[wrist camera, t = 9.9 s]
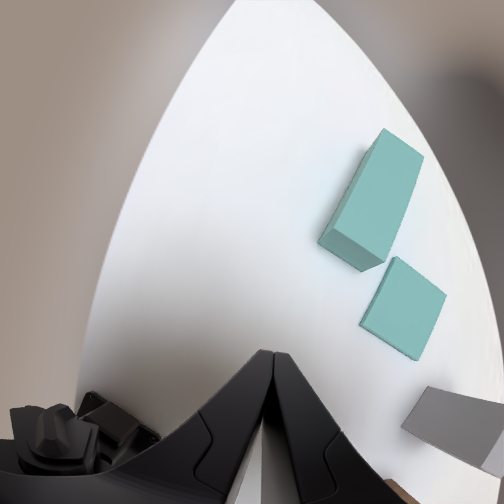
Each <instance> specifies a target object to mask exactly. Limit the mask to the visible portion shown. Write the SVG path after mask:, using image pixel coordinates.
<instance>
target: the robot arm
mask: <svg viewBox="0 0 504 504" xmlns="http://www.w3.org/2000/svg"><path fill="white" fill-rule="evenodd" d="M90 395H91V396H92V397H93V400H92V399H91V398H90ZM10 416H11V422H12V429H13V434H14V440H7V439H0V504H234V503H235V500H236V497H237V495H238V492H239V489H240V486H241V483H242V481H243V478H244V475H245V472H246V469H247V466H248V463H249V460H250V457H251V454H252V451H253V448H254V445H255V442H256V439H257V436H258V433H259V429H260V426H261V422H262V466H261V504H408V503H407V502H406V501H405V500H403V499H402V498H401V497H400V496H399V495H398V494H397V493H396V492H395V491H394V490H393V489H392V488H391V487H390V486H389V485H388V484H387V483H386V482H385V481H384V480H383V479H382V478H381V477H380V476H379V475H378V474H377V473H376V472H375V471H374V470H373V469H372V468H371V466H370V465H369V464H368V463H367V462H366V461H365V460H364V459H363V458H362V456H361V455H360V454H359V453H358V452H357V450H356V449H355V448H354V446H353V445H352V444H351V442H350V441H349V440H348V438H347V437H346V436H345V434H344V433H343V432H342V431H341V429H340V427H339V426H338V425H337V423H336V422H335V420H334V419H333V417H332V416H331V415H330V413H329V412H328V410H327V409H326V407H325V406H324V405H323V403H322V402H321V400H320V399H319V397H318V396H317V394H316V393H315V391H314V390H313V389H312V387H311V386H310V384H309V383H308V381H307V380H306V378H305V377H304V375H303V374H302V372H301V371H300V370H299V368H298V367H297V365H296V364H295V362H294V361H293V359H292V358H291V356H290V355H289V354H288V353H282V352H275V353H273V352H272V351H268V350H261V349H260V350H258V351H257V352H256V353H255V355H254V356H253V357H252V358H251V359H250V360H249V361H248V362H247V363H246V364H245V365H244V366H243V367H242V368H241V369H240V370H239V371H238V372H237V373H236V374H235V375H234V376H233V377H232V378H231V379H230V380H229V381H228V382H227V383H226V384H225V385H224V386H223V387H222V388H221V389H220V390H219V391H218V392H217V393H216V394H215V395H213V396H212V397H211V398H210V399H209V400H208V401H207V402H206V403H205V404H204V405H203V406H202V407H201V408H200V409H199V410H198V411H197V412H195V413H194V414H193V415H192V416H191V417H190V418H189V419H188V420H187V421H185V422H184V423H183V424H182V425H181V426H179V427H178V428H177V429H176V430H175V431H173V432H172V433H171V434H169V435H168V436H166V437H165V438H163V439H162V440H161V437H160V435H158V434H157V433H155V432H154V431H152V430H150V429H149V428H147V427H145V426H144V425H142V424H140V423H139V421H138V420H137V419H136V418H134V417H133V416H131V415H130V414H128V413H127V412H125V411H124V410H122V409H121V408H119V407H118V406H116V405H115V404H113V403H112V402H107V401H106V400H105V399H103V398H102V397H101V396H99V395H98V394H97V393H95V392H93V391H90V392H88V393H86V394H85V397H84V399H83V401H82V404H81V406H80V408H79V411H78V413H77V416H76V415H75V414H74V413H73V411H72V410H71V409H70V408H69V406H66V405H63V404H57V405H55V406H52V407H50V408H48V409H43V408H41V407H38V406H25V407H21V408H12V409H10ZM262 418H263V420H262ZM151 437H154V438H155V439H156V440H157V441H153V440H152V438H151Z"/></svg>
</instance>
